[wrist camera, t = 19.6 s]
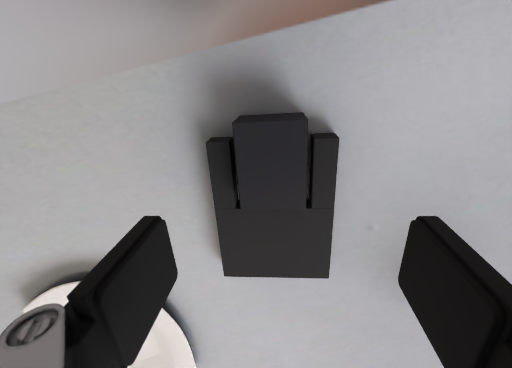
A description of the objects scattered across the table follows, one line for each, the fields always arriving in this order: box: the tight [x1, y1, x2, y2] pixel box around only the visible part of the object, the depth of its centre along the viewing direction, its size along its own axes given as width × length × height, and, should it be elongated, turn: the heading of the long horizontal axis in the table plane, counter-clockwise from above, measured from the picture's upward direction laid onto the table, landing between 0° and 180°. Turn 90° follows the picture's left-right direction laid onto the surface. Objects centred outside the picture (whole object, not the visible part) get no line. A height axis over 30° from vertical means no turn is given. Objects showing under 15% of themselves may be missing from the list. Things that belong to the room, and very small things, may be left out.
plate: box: [22, 281, 196, 368], centre depth 37 cm, size 23×23×2 cm
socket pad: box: [206, 133, 339, 278], centre depth 26 cm, size 16×12×2 cm
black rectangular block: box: [232, 113, 308, 210], centre depth 23 cm, size 8×6×4 cm
